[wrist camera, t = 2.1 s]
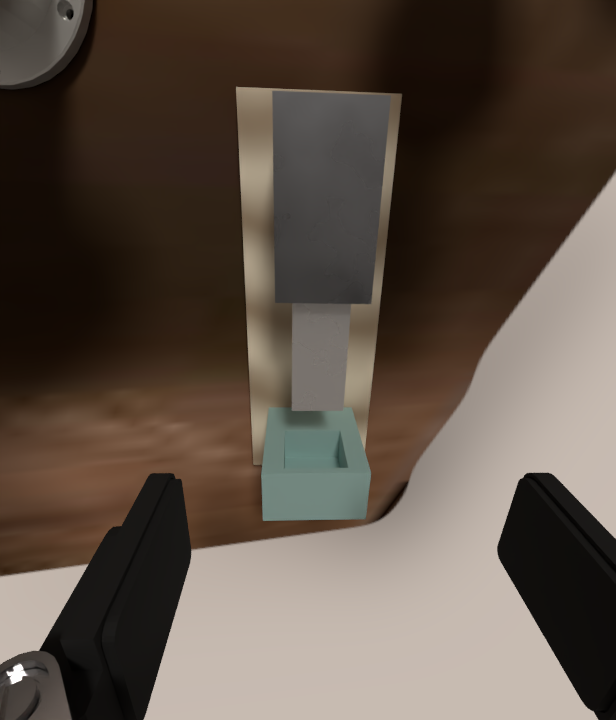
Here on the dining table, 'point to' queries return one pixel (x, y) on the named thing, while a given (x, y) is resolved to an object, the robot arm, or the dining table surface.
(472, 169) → the dining table surface
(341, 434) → the socket block
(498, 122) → the dining table surface
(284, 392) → the base board
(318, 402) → the tube
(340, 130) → the sleeve
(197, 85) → the dining table surface
